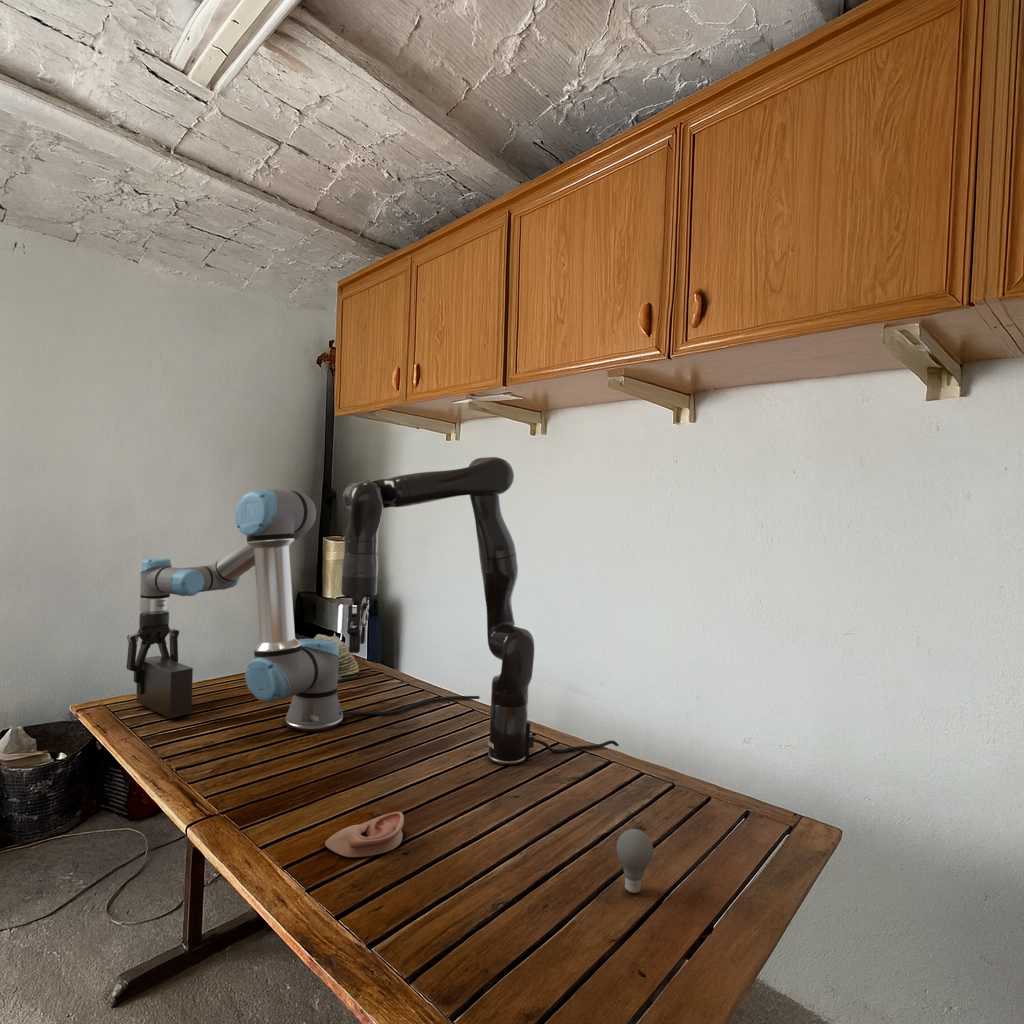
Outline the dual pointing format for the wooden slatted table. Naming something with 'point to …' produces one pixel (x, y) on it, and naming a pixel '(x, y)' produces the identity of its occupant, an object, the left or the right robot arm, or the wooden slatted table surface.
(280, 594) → the left robot arm
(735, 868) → the wooden slatted table surface
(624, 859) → the light bulb
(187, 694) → the box
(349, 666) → the fossil
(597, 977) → the wooden slatted table surface
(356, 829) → the anatomical model
